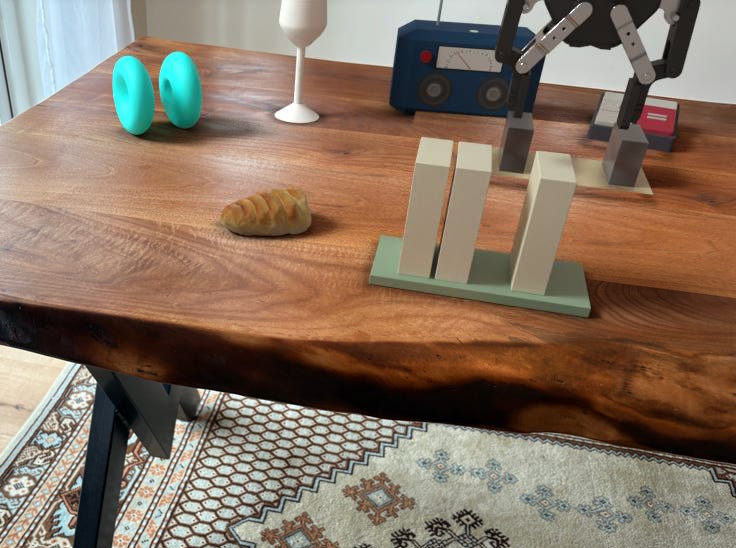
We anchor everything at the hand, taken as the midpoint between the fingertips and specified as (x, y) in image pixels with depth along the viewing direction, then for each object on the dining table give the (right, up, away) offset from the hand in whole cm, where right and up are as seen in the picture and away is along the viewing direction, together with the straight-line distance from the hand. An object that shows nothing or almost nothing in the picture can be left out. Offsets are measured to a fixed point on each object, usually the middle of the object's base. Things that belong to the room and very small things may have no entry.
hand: (568, 121), depth 65 cm
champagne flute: (-20, +16, +49) cm, 56 cm away
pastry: (-25, -6, +18) cm, 31 cm away
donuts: (-40, +12, +42) cm, 59 cm away
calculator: (+28, +12, +47) cm, 56 cm away
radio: (+4, +18, +53) cm, 56 cm away
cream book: (-1, -12, +9) cm, 15 cm away
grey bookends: (+12, +3, +33) cm, 35 cm away
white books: (-5, -12, +10) cm, 16 cm away
